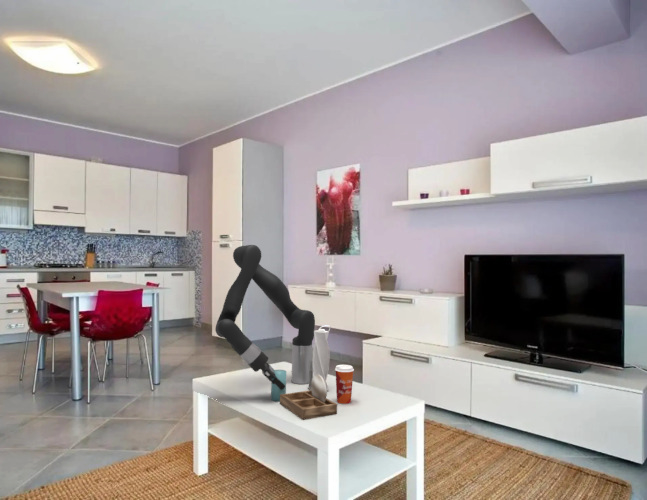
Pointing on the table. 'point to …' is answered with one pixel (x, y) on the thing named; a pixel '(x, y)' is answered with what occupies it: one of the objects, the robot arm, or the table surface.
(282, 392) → the teal dome-topped cylinder
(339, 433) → the table surface
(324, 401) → the tray
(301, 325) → the robot arm
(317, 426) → the table surface
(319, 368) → the skyscraper
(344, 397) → the paper cup
